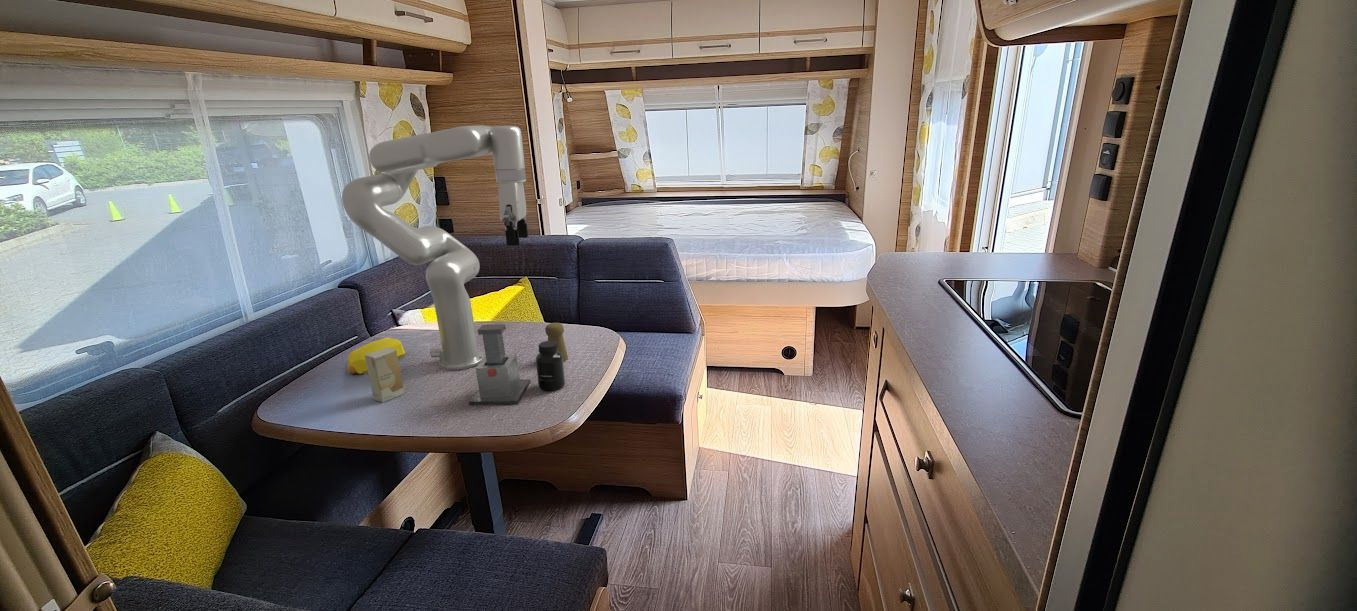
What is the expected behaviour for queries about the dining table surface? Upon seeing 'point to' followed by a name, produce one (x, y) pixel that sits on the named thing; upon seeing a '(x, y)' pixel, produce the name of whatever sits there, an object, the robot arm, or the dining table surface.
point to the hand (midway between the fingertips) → (517, 241)
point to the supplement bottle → (550, 367)
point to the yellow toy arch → (358, 356)
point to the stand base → (499, 383)
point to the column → (493, 343)
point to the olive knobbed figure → (557, 337)
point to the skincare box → (384, 374)
